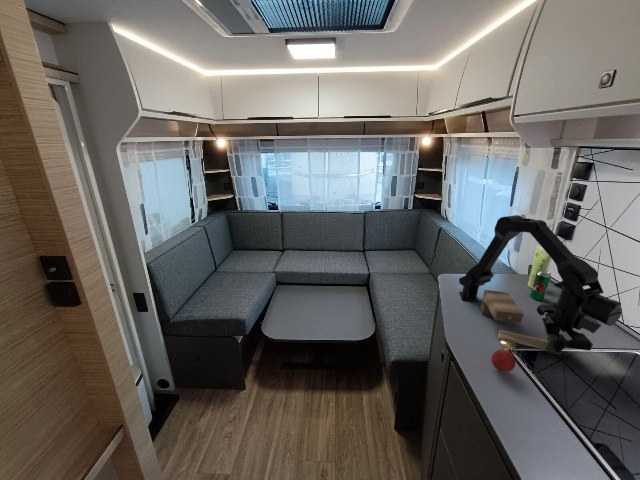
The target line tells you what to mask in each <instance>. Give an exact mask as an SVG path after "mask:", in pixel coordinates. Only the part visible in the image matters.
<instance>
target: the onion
mask: <svg viewBox="0 0 640 480" xmlns="http://www.w3.org/2000/svg"><path fill="white" fill-rule="evenodd" d="M490 362H491V363H492V365H493V367H494V368H495V369H496V370H498V371H499V372H501V373H502V372H503V373H504V372H505V373H507V372H511V371H513V370H514V368H515V367H516V359H515V357H514V355H513V354H512V353H511V352H510V350H509V349H507V348H506V349H504V348H500V349H497V350H495V351H494V352H493V353H492V354H491V361H490Z"/></svg>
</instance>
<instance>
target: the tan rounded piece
mask: <svg viewBox="0 0 640 480" xmlns="http://www.w3.org/2000/svg"><path fill="white" fill-rule="evenodd" d="M499 345H501V346H502V347H503V348H502V347H501V346H500V347H501V348H502V349H504V348H507V349H509V351H510V350H511V349H515V350H516V347H517V343H515V342H514V341H512V340H510V339H507V338H502V339H499Z"/></svg>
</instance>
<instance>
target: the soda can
mask: <svg viewBox="0 0 640 480" xmlns="http://www.w3.org/2000/svg"><path fill="white" fill-rule="evenodd" d="M551 279H552V273H551V272H550V271H549V270H547V271H545V270H538V272H537V273H536V275H535V279H534V282H533V286H532V288H531V290H530V293H529V297H530V298H532V299H533V300H536V301H543V300H545V299H546V295H547V292H548V290H549V289H548V288H549V286H550V282H551Z"/></svg>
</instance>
